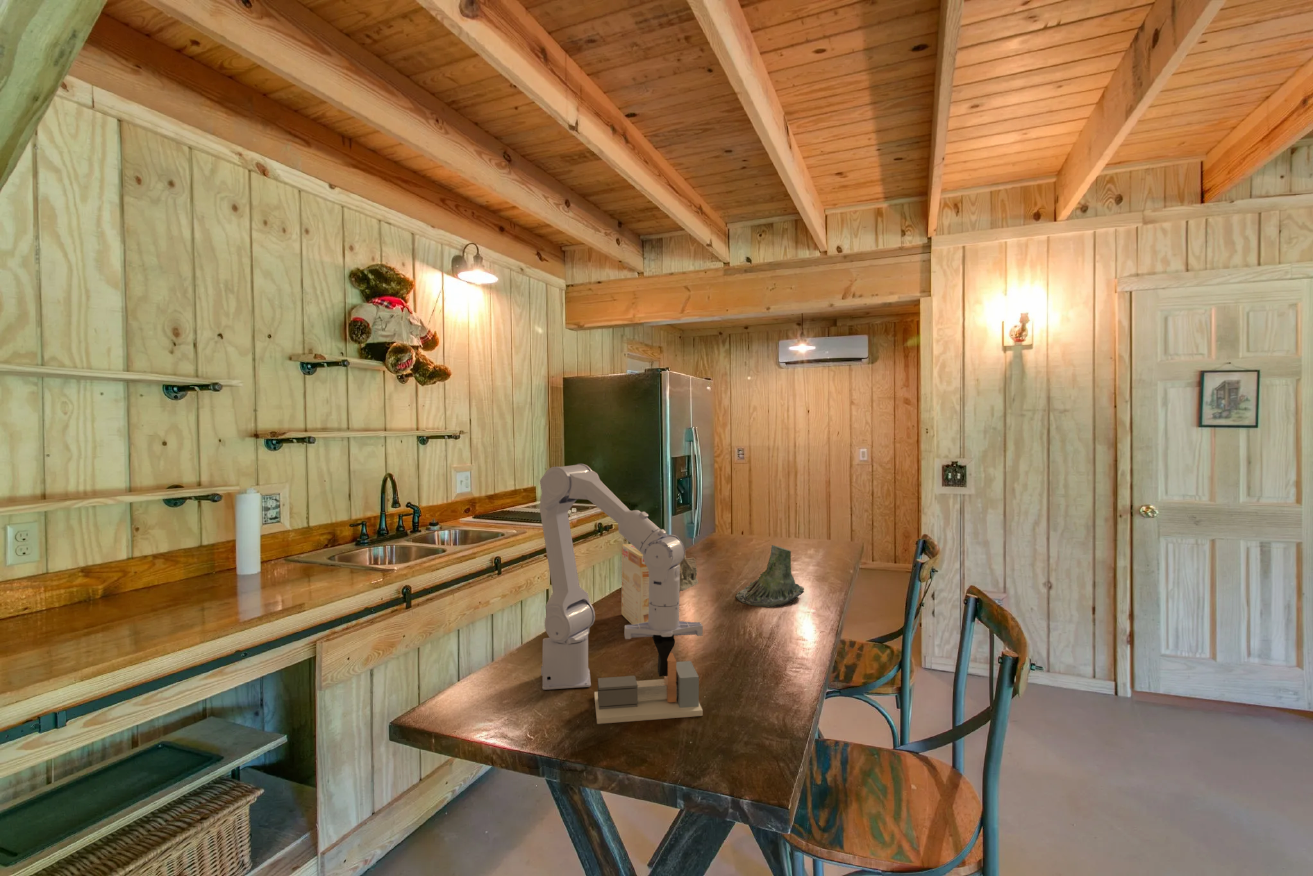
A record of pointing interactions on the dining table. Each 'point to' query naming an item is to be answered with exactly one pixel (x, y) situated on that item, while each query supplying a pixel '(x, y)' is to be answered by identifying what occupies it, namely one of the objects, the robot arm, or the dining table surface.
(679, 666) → the socket block
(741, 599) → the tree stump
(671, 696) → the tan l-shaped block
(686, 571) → the ceramic cottage
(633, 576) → the coffeecake box
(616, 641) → the dining table surface
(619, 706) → the cream rectangular panel
